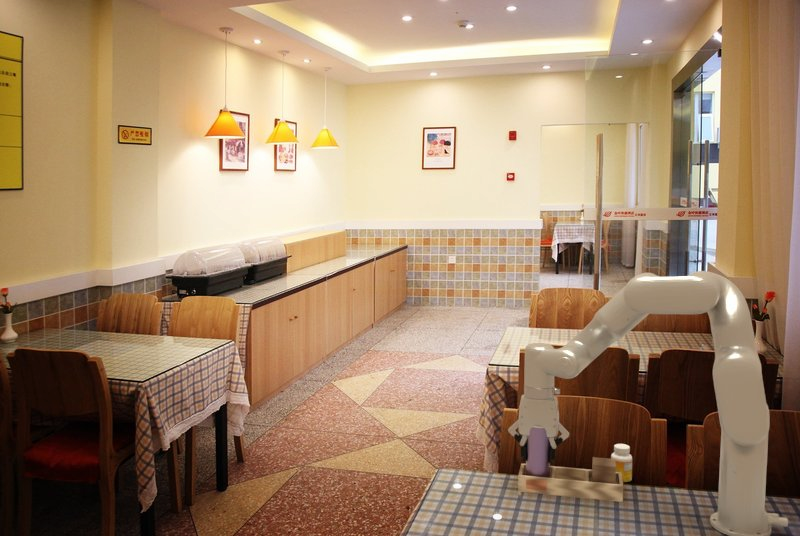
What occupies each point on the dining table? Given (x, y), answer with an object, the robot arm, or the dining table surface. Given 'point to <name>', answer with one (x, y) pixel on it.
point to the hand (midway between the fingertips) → (537, 460)
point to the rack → (570, 484)
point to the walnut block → (604, 470)
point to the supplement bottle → (623, 461)
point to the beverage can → (537, 453)
